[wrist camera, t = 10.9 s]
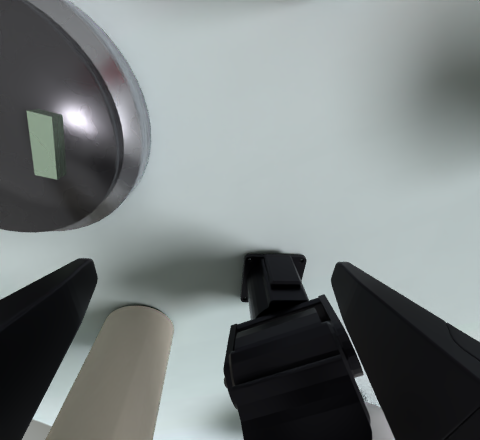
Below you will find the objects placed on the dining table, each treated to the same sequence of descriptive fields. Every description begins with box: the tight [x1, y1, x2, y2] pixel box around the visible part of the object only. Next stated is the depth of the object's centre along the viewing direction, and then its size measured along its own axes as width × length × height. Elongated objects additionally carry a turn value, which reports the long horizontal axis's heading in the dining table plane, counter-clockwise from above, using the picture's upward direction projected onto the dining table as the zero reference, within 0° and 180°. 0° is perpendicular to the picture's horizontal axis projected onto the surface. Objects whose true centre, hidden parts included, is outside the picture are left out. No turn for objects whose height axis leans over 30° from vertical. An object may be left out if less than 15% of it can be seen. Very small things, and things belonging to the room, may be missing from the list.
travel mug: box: [46, 306, 174, 440], centre depth 21 cm, size 8×8×18 cm
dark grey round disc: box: [27, 0, 151, 231], centre depth 16 cm, size 16×16×3 cm
